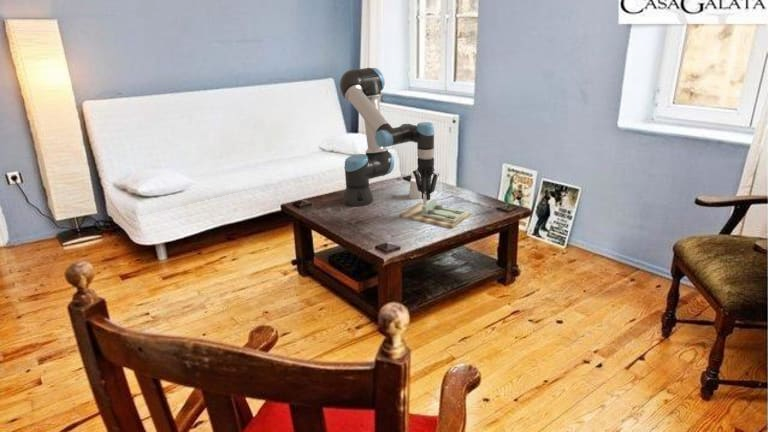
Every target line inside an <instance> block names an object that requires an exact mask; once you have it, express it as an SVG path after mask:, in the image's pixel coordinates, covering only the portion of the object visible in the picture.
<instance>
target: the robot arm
mask: <svg viewBox="0 0 768 432" xmlns="http://www.w3.org/2000/svg"><path fill="white" fill-rule="evenodd" d="M385 83H386V82H385V77H384V75H383V73H382V72H381V70H380V69H378V68H376V67H365V68H359V69H357V68H356V69H350V70H347V71H346V72H344V73H343V74H342V75H341V78H340V80H339V90H340V94H341V95H342V97H343V98H344V100H345V101H346V102H350V104H351V105H352V106H353V107H354V108H355V110H356V111H357V113H359V115H360V116H361V118H363V120H364V121H363V122H364V130H365V136H366V137H365V138H366V142H367V143H366V144H367V149H366V151H365V154H364V153H359V154H353V155H350V156H347V158H346V159H345V160H344V176H345V191H344V194H343V195H344V196H343V203H344V204H345V205H346V206H350V207H351V206H352V207H363V206H367V205H370V204H372V203H373V202H374V195H373V193H372V191H371V188H370V180H371V179H374V178H379V177H385V176H387V175H388V174H391V173H392V171H393V170H394V167H395V158H394V156H393V154H392V153H391V152H390V151H389V147H392V146H396V145H401V144H405V143H411V142H412V143H416V146H417V147H416V149H417V152H416V153H417V168H416V169H414V170H413V171H412V174H413V176H414V178H415V179H416V184H417V188H418V191H420V192H421V193H422V199H421V200H422V201H423V202H422V203H423V206H424V205H426V204H427V203H429V202H430V201H431V194H432V193H434V192H435V190H436V185H437V182H438V178H439V176H440V173H439V172H436V170H435V168H434V166H435V158H434V157H435V128H434V126H435V125H434V123H432V122H428V121H427V122H426V121H423V122H422V121H421V122H418V123H417V125H415V124H412V123H402V124H400V125H399V126H397V127H392V126H391V124H390V123H389V122H388V120H386V119H385V117H384V116H383V115H382V113H381V108H380V107H381V106H380V100H379V99H380V97H381V96H382V90H384V88H385V85H386V84H385Z"/></svg>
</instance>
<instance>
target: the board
mask: <svg viewBox="0 0 768 432" xmlns="http://www.w3.org/2000/svg"><path fill="white" fill-rule="evenodd" d="M422 206H423V202H418V203H416V204H415V205H413V206H411V207H409V208H407V209H406V210H404V211H402V212H401V213H399V217H400V218H404V219H409V220H414V221H419V222H423V223H427V224H432V225H436V226H441V227H446V228H451V229H454V228H455V227H457V226H458V225H460V224H461V223H462V222H464V221H465V220H466V219H467V218H469V217H471V216H472V212H470V211H469V212H468V211H465V212H466V214H465V215H464V216H462V217H461V218H459V219H458V220H456V221H455V222H449V221H445V220H440V219H436V218H431V217H426V216H422V215H421V213H422ZM442 207H443V205H441V204H437V205H436V206H435V208H436V209H439V210H441V209H442ZM428 213H429V214H433V213H435V210H428ZM455 214H460V215H461V214H462V213H457V212H455ZM445 218H447V217H445ZM448 219H455V218H450V217H448Z"/></svg>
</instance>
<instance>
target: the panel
mask: <svg viewBox="0 0 768 432" xmlns="http://www.w3.org/2000/svg"><path fill="white" fill-rule="evenodd" d="M436 205H438V204H437V200H434V199H432V200H430V201H429V203H427V204H426V205H424V206H422V213H421V215H422V216H426V217H431V218H436V219H440V220H445V221H449V222H455V221H456V220H458V219H459V218H461V217H462V216H464V215H465V214H466V212H467V211H464V210H459V209H455V208H449V207H444V206H442V209H441V210H439V209H436V208H435V206H436ZM428 210H435V213H433V214H429V213H428ZM455 212H457V213H462V214H461V215H460V214H455ZM445 217H447V218H445ZM448 217H450V218H455V219H448Z"/></svg>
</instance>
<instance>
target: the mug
mask: <svg viewBox="0 0 768 432" xmlns="http://www.w3.org/2000/svg"><path fill="white" fill-rule="evenodd" d="M408 191H409V192H408V195H409V199H412V200H423V199H422V193H421V192H420V191H418V188H417V184H416V179H415V177H412V178H411V179H410V183H409V190H408Z"/></svg>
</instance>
